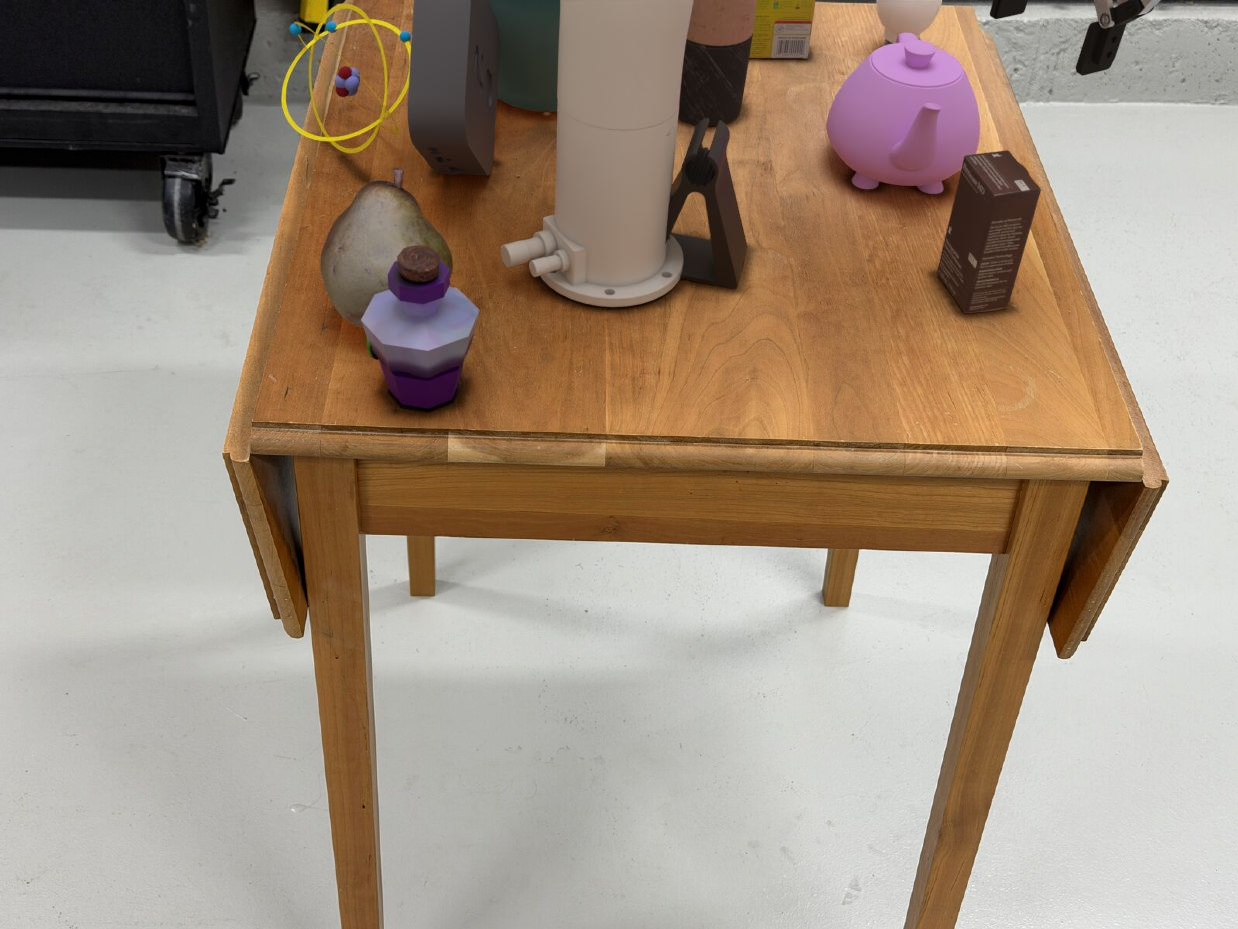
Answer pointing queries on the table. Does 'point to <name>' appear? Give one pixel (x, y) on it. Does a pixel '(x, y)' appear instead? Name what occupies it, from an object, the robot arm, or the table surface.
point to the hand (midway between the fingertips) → (1048, 42)
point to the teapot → (905, 117)
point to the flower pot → (528, 53)
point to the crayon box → (782, 29)
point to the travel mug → (716, 60)
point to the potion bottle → (420, 331)
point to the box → (987, 231)
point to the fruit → (374, 244)
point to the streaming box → (454, 85)
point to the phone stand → (709, 211)
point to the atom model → (345, 77)
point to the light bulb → (906, 17)
